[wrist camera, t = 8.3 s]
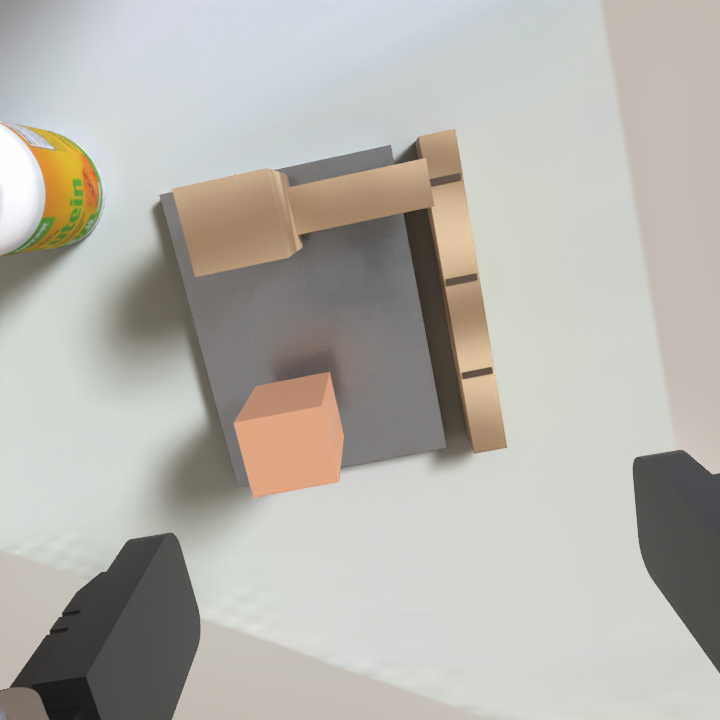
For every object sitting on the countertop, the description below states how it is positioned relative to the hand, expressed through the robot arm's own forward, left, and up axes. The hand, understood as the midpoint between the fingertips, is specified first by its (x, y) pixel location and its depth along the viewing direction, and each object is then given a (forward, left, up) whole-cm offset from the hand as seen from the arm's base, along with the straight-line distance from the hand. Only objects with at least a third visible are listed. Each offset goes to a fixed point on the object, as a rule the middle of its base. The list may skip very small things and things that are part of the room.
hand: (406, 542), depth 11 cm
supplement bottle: (-9, -14, -23) cm, 28 cm away
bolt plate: (0, -4, -22) cm, 23 cm away
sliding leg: (+3, -4, -21) cm, 21 cm away
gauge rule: (0, -1, -22) cm, 22 cm away
